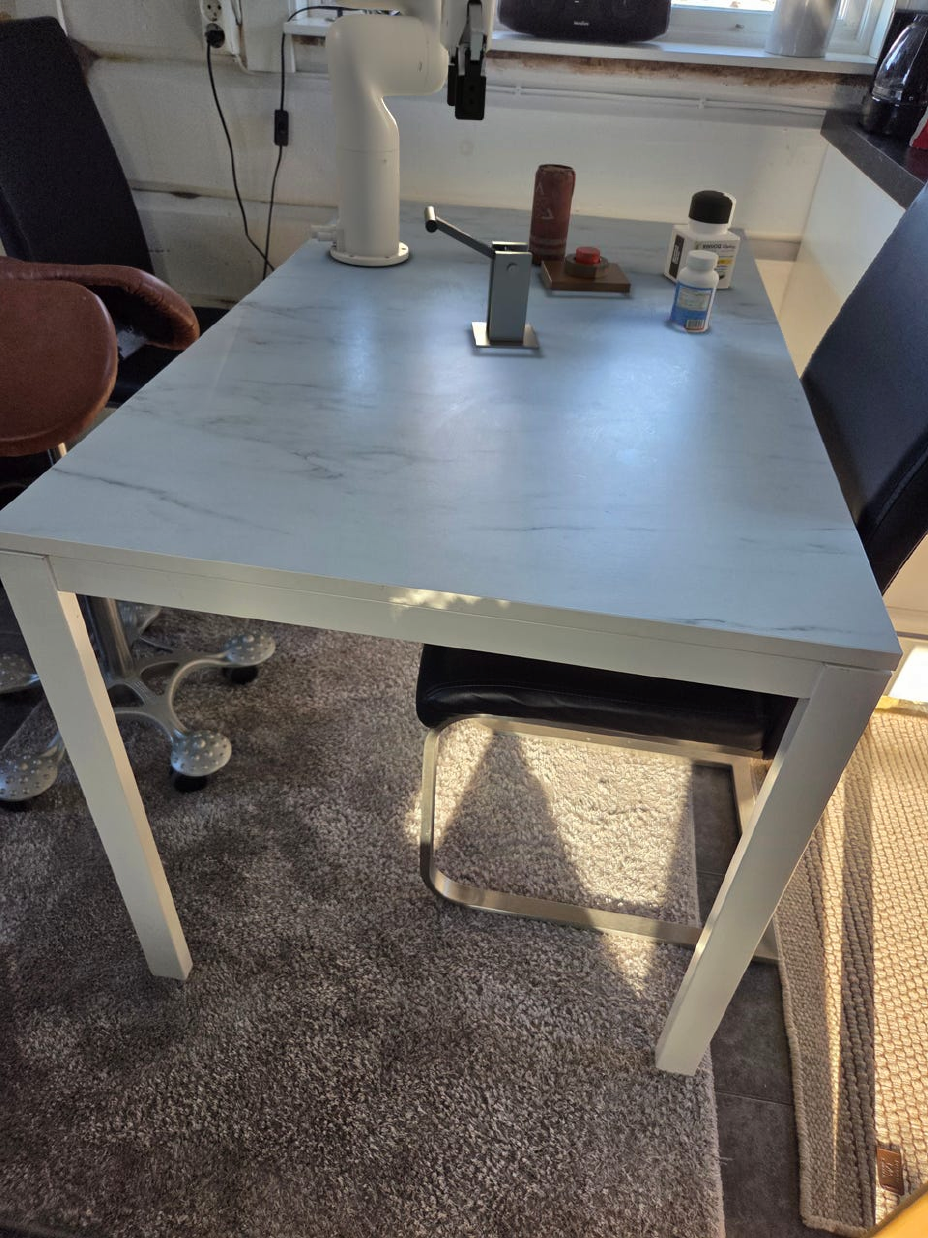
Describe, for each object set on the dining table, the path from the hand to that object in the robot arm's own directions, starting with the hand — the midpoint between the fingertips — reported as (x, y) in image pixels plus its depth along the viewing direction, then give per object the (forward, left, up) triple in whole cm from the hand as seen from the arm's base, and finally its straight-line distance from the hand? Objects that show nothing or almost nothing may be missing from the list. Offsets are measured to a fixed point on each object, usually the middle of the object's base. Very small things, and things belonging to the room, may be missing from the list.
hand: (464, 112), depth 94 cm
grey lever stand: (+6, -3, -25) cm, 26 cm away
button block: (+21, +21, -25) cm, 39 cm away
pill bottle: (+33, +5, -25) cm, 42 cm away
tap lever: (+1, -3, -14) cm, 15 cm away
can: (+17, +33, -25) cm, 45 cm away
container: (+40, +25, -25) cm, 54 cm away
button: (+21, +21, -22) cm, 37 cm away
